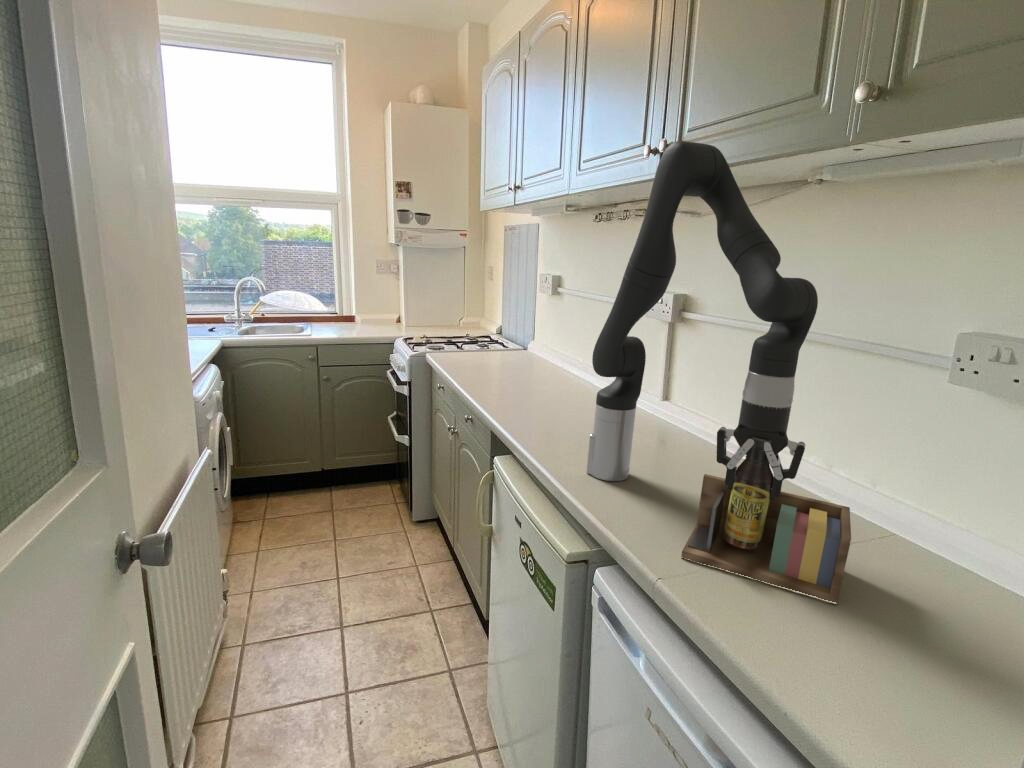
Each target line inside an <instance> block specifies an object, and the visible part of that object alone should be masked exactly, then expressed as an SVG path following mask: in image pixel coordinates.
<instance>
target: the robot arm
mask: <svg viewBox="0 0 1024 768" xmlns="http://www.w3.org/2000/svg"><path fill="white" fill-rule="evenodd" d="M683 197H696V198H697V197H699V198H700V199H701V200H703V201H704V203H706V204H707V205H708V206H709V208H710V209H711V211H712V212H713V213H714V215H715V219H716V231H717V232H716V233H717V239H718V243H719V244H718V245H719V246H720V248H721V251H722V253H723V254H724V256H725V257H726V259H727V261H728V262H729V263H730V265H731V266H732V268H733V269H734V271H735V273H736V274H737V275H738V277H739V283H740V286H741V289H742V291H743V295H744V299H745V301H746V303H747V307H748V308H749V310H750V311H751V312H752V313H753V315H755V316H756V317H757V318H759V320H762V321H764V322H767V323H771V324H770V328H769V330H767V332H766V333H765V334H763V335H761V336H759V337H757V338H755V340H754V342H753V344H752V347H751V348H752V349H751V352H750V358H749V359H750V360H749V365H748V371H747V375H746V378H745V382H744V386H743V390H742V398H741V405H740V412H739V417H738V418H739V419H738V425H737V426H736V427H735V429H733V428H731V429H730V428H726V427H724V426H722V427H720V428H719V429H718V430H717V432H716V462H717V463H718V464H722V465H723V466H724V467H726V472H725V478H724V479H725V485H728V489H731V490H732V487H733V483H734V480H735V475H736V470H737V468H738V466H737V464H739V463H740V461H741V460H742V459H743V458H744V456H746V455H747V456H748V454H749V451H750V450H749V449H750V448H751V447H752V446H753V445H754V440H753V438H752V437H755V438H760V439H764V440H768V441H772V444H771V443H770V442H765V443H764V450H765V452H766V455H767V458H768V461H769V463H770V464H769V466H770V469H772V470H771V471H772V474H773V477H774V478H773V483H772V489H771V495H770V499H773V500H774V499H775V497H779V495H780V492H782V486H783V481H784V480H786V479H788V480H789V479H790V480H794V479H795V478H796V476H797V474H798V470H799V468H800V465H801V462H802V460H803V456H804V453H805V451H806V443H805V442H804V441H799V442H796V441H793V440H790V439H789V437H788V433H787V431H788V427H789V421H790V416H791V415H790V414H791V411H792V405H793V402H794V395H795V394H794V393H795V381H796V380H795V379H796V377H795V376H796V371H797V367H798V360H799V355H800V349H801V348H802V347H803V344H804V342H805V340H806V339H807V336H808V334H809V331H810V329H811V326H812V324H813V322H814V320H815V318H816V317H815V316H816V314H817V310H818V305H819V304H818V303H819V300H818V297H819V296H818V293H817V289H816V287H815V286H814V284H813V282H811V281H810V280H807V279H806V278H801V277H783V276H782V275H781V274H780V273H779V272H778V270H777V269H778V267H779V266H780V264H781V261H782V260H781V259H782V258H781V257H782V256H781V254H780V251H779V250H778V248H777V247H776V245H775V244H774V243H773V241H772V240H771V238H770V237H769V236H768V234H767V233H766V232H765V230H764V229H763V227H762V226H761V225H760V223H759V222H758V220H757V219H756V218H755V216H754V215H753V213H752V211H751V209H750V207H749V206H748V204H747V202H746V200H745V198H744V196H743V194H742V191H741V190H740V187H739V185H738V183H737V180H736V179H735V176H734V174H733V173H732V170H731V168H730V165H729V163H728V161H727V159H726V158H725V156H724V155H723V152H721V150H720V149H719V148H717V147H716V146H714V145H711V144H707V143H701V142H694V141H693V142H692V141H686V140H677V141H674V142H672V143H671V144H669V145H668V146H667V147H666V149H665V150H664V151H663V154H662V155H661V157H660V159H659V162H658V165H657V167H656V170H655V175H654V178H653V183H652V186H651V190H650V194H649V198H648V203H647V206H646V209H645V214H644V216H643V220H642V223H641V226H640V230H639V233H638V235H637V238H636V241H635V244H634V246H633V250H632V252H631V254H630V257H629V260H628V262H627V265H626V268H625V271H624V274H623V277H622V280H621V283H620V286H619V290H618V293H617V294H616V298H615V300H614V303H613V305H612V308H611V310H610V312H609V314H608V316H607V319H606V320H605V323H604V325H603V327H602V329H601V331H600V333H599V335H598V338H597V340H596V342H595V344H594V345H595V346H594V348H593V351H592V359H591V360H592V362H591V363H592V368H593V371H594V372H595V374H596V375H598V376H600V377H603V378H615V379H614V380H613V381H612V383H610V384H609V385H607V386H605V387H604V388H601V389H599V390H598V392H597V393H596V398H595V399H596V401H595V409H594V410H595V411H594V419H593V420H594V422H593V431H592V433H591V434H590V435H589V441H588V453H587V454H588V455H587V464H586V474H589V475H591V476H592V477H594V478H595V479H596V478H597V479H598V480H603V481H606V482H607V481H608V482H622V481H625V480H627V479H628V478H629V475H630V474H629V473H630V466H631V465H630V464H631V457H632V456H631V455H632V449H633V448H632V447H633V439H634V431H635V430H634V428H635V420H636V419H635V418H636V412H637V403H638V400H639V398H640V395H641V392H642V387H643V380H644V373H645V369H646V368H645V367H646V361H647V360H646V359H647V358H646V357H647V356H646V355H647V354H646V348H645V345H644V342H643V341H642V340H641V339H640V338H639V337H637V336H630V335H629V334H630V332H631V330H632V328H633V327H634V326H635V325H636V324H637V323H638V322H639V320H640V319H642V317H644V316H645V315H646V314H648V312H650V310H652V308H654V307H655V306H656V304H658V302H659V301H660V300H661V299H662V298H663V296H664V295H665V293H666V291H667V289H668V286H669V284H670V282H671V279H672V276H673V274H674V271H675V269H676V265H677V253H676V246H675V239H674V222H675V217H676V215H677V212H678V209H679V205H680V203H681V202H682V199H683ZM732 437H734V438H735V441H736V443H737V445H738V446H739V447H738V448H737V450H736V451H735V453H733V455H732V456H731V457H730V456H728V455H727V442H729V441H730V440H731V438H732ZM785 448H788V449H789V454H790V455H791V456H793V457H792V459H791V462H790V466H789V468H784V467H783V465H782V463H781V459H780V455H779V453H780V452H782V451H783V450H784V449H785Z"/></svg>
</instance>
